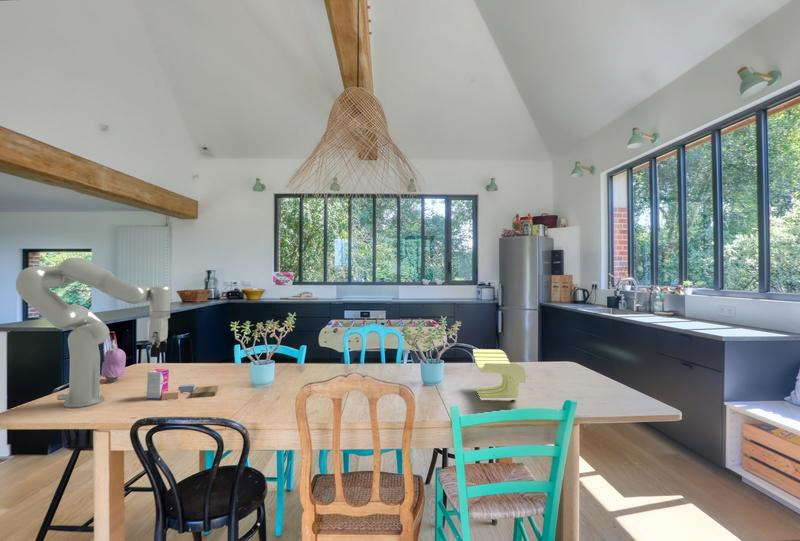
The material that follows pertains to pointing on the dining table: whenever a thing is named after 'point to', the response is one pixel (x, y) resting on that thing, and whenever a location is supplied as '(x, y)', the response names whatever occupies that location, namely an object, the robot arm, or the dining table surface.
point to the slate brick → (186, 388)
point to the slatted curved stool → (501, 365)
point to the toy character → (113, 363)
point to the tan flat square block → (204, 391)
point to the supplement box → (157, 383)
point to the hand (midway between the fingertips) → (158, 354)
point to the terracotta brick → (170, 395)
